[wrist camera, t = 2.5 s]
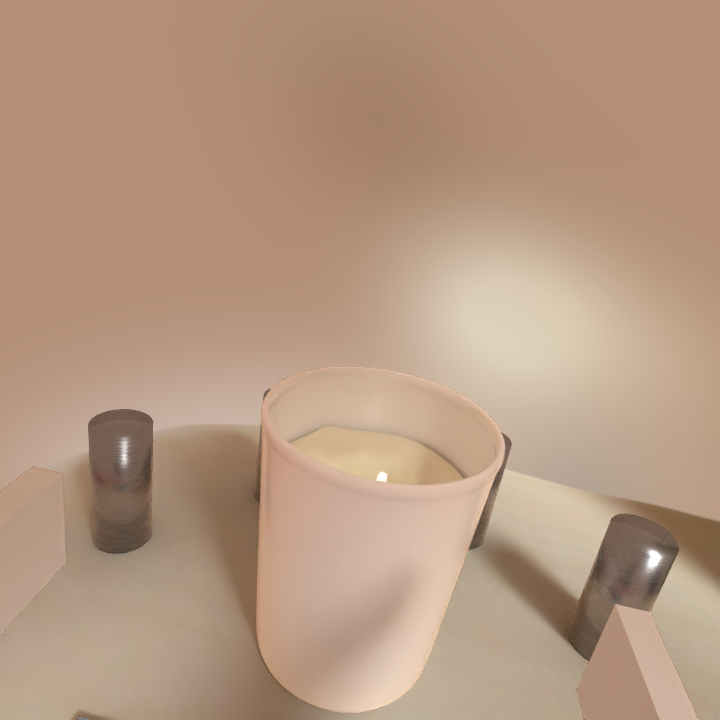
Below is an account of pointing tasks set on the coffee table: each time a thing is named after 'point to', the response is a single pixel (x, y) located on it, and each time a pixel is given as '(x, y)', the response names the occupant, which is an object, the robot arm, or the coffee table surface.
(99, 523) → the spacer posts
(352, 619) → the candle holder
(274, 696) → the coffee table surface
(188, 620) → the coffee table surface
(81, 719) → the mat
